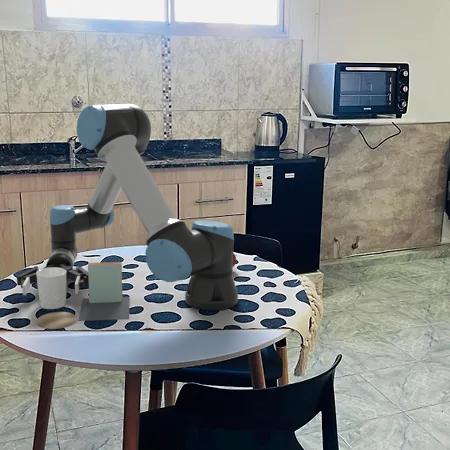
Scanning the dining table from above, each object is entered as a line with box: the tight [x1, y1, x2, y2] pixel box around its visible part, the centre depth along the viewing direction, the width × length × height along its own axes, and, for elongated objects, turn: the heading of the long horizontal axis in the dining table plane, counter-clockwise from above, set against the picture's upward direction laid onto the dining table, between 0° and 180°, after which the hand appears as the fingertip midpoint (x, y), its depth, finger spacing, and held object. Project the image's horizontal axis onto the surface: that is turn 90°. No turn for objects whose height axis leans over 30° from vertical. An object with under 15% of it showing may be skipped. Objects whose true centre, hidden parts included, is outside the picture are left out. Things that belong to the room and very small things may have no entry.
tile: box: [87, 261, 123, 303], centre depth 164 cm, size 2×9×11 cm, turn 98°
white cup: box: [36, 267, 67, 310], centre depth 161 cm, size 8×8×10 cm
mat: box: [77, 296, 131, 322], centre depth 160 cm, size 16×13×1 cm
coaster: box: [36, 311, 78, 330], centre depth 152 cm, size 10×10×1 cm
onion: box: [233, 252, 237, 268], centre depth 194 cm, size 6×6×8 cm
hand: (50, 289), depth 158 cm, fingers open, 13 cm apart
